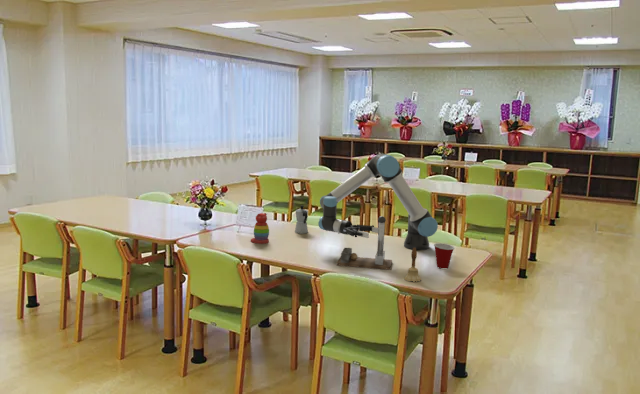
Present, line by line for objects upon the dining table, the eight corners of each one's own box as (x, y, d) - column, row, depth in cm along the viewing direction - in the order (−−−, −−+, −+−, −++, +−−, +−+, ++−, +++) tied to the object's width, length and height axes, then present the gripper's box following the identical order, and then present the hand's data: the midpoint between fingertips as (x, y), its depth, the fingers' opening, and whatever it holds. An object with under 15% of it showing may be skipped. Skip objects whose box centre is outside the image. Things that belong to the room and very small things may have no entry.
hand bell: (402, 276, 269) (404, 245, 267) (418, 277, 270) (420, 245, 268) (406, 282, 261) (408, 250, 259) (423, 282, 262) (425, 250, 259)
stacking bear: (265, 239, 338) (265, 211, 335) (272, 242, 330) (273, 213, 327) (249, 241, 332) (249, 212, 329) (256, 244, 324) (257, 215, 321)
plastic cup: (453, 271, 282) (455, 248, 280) (432, 269, 284) (433, 247, 282) (453, 265, 292) (454, 243, 290) (432, 263, 294) (433, 242, 292)
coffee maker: (291, 230, 364) (292, 204, 361) (304, 229, 367) (304, 203, 364) (299, 235, 350) (300, 208, 347) (312, 234, 354) (313, 207, 351)
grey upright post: (384, 259, 293) (386, 214, 289) (382, 265, 282) (384, 218, 278) (377, 258, 294) (379, 214, 290) (375, 264, 283) (377, 218, 279)
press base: (391, 262, 294) (392, 250, 293) (390, 269, 281) (390, 257, 280) (340, 258, 300) (341, 246, 298) (336, 265, 286) (337, 253, 285)
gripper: (356, 230, 311) (387, 236, 297) (329, 237, 291) (361, 244, 278) (356, 217, 309) (388, 222, 296) (329, 223, 290) (362, 230, 277)
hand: (375, 233), depth 287 cm, fingers open, 13 cm apart
